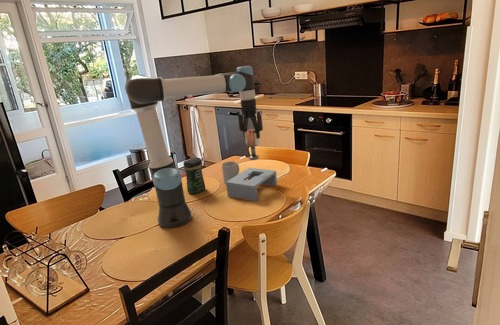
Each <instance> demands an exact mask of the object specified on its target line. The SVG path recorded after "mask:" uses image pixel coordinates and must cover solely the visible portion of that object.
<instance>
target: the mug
mask: <svg viewBox="0 0 500 325" xmlns="http://www.w3.org/2000/svg"><path fill="white" fill-rule="evenodd" d="M221 170H222V177H223V178H222V179H223V184H224V185H226V182H227V181H228V180H230V179H232V178H233V177H235V176H237V175H238V174H240V166H239V163H237V162H236V161H230V160H229V161H225V162H223V163H221Z"/></svg>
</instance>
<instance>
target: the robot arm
mask: <svg viewBox="0 0 500 325" xmlns="http://www.w3.org/2000/svg"><path fill="white" fill-rule="evenodd" d="M254 81H255V80H254V71H253V67H252V66H250V65H244V66H238V67H236V71H233V72H224V73H218V74H214V75H213V74H212V75H203V76H189V77H187V76H186V77H177V78H175V77H174V78H163V77H161V76H157V77H156V76H155V77H154V76H153V77H151V76H146V75H144V74H134V75H131V76H130V77H129V78H128V79H127V80H126V82H125V86H124V87H125V88H124V90H125V93H126V95H127V99H128V101H129V105H130V108H131V110H132V111H134V112H135V113H136V116H137V119H138V122H139V127H140V129H141V134H142V137H143V140H144V143H145V148H146V151H147V154H148V157H149V160H150V162H149V164H148V165H147V166H148V169H149V173H150V177H151V181H152V182H153V185H154V190H155V193H156V194H155V195H156V198H157V202H158V207H159V208H158V216H157V222H158V223H157V224H158V225H159V227H161V226H162V227H161V228H164V227H174V228H177V227H176V226H179V227H182V226H184V225H186V224H188V223H189V222H190V221H191V220H192V218H193V215H192V211H191V210H190V208H189V206H188V204H187V202H186V198H185V193H184V187H183V182H182V175H181V172H180V170H179V169H177V168H176V167H175V161H174V158H171V157H170V156H169V152H168V149H167V145H166V141H165V138H164V133H163V130H162V126H161V122H160V119H159V116H158V112H157V111H158V110H157V105H158V104H159V102H165V100H166V99H170V98H179V97H181V98H182V97H191V96H199V95H209V94H210V95H211V94H221V93H229V92H234V93H239V98H240V107H241V110H239V111H237V112H236V114H237V118H238V126H239V127H238V128H239V129H238V130H239V131H240V132H242V133H243V134H242V135H243V138H244V141H245V145H247V146H248V144H247V135H246V131H247V130H248V126H249V119H250V121H251V122H252V126H253V129H255V133H254V136H255V145H258V146H259V145H260V138H261V132H262V131H263V129H264V127H263V119H262V115H263V114H262V113H263V111H262V110H258V109H257V101H256V100H257V99H256V91H255V82H254Z"/></svg>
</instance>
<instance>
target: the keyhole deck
mask: <svg viewBox="0 0 500 325" xmlns="http://www.w3.org/2000/svg"><path fill="white" fill-rule="evenodd" d="M225 185H226V191H227V197H229V196H231V197H230V198H234V197H236V199H240V198H241V199H242V200H245V199H246V201H250V202H251V201H252V202H257V201H258V200H259V198H258V197H259V195H258V188H257V187H259V186H260V185H267V186H273V187H276V186H278V178H277V170H272V169H263V168H255V167H248V168H247V169H245V170H243V171H242V172H239V173H238V175H237V176H235V177H233V178H232V179H230V180H228V181H227V182H226V184H225Z"/></svg>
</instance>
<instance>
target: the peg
mask: <svg viewBox="0 0 500 325" xmlns="http://www.w3.org/2000/svg"><path fill="white" fill-rule="evenodd" d="M254 133H255V129H254V128H250V129H247V131H246V135H247V147H248V148H250V152H251V155H249V156H248V160H250V161H256V160H259V159H260V156H259V155H258V154H257V152H256V147H258V146H259V144H258V145H255V136H254Z"/></svg>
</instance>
